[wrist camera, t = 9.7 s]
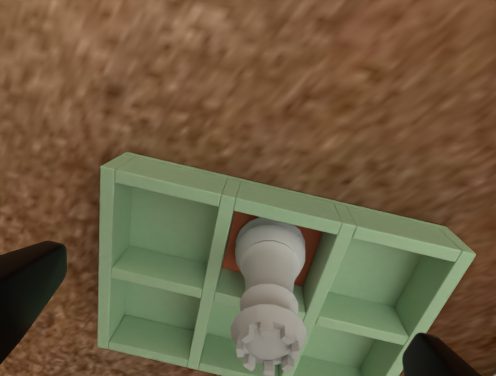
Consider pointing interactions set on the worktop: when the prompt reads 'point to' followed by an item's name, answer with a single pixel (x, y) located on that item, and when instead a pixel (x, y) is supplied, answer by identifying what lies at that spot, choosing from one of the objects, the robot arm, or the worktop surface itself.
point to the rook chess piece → (269, 295)
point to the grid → (233, 282)
